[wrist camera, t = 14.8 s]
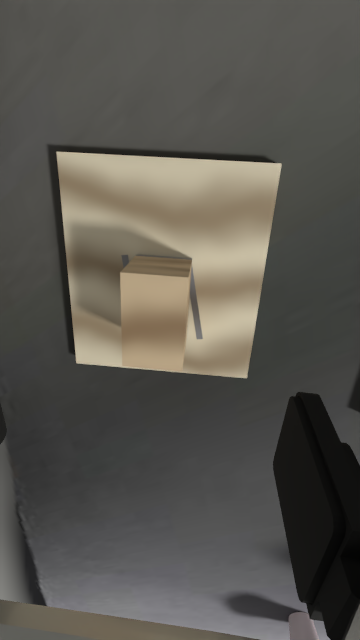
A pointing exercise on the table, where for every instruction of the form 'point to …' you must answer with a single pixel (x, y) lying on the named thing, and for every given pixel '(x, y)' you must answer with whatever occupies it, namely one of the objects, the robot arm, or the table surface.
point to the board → (168, 248)
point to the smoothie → (302, 627)
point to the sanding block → (155, 311)
